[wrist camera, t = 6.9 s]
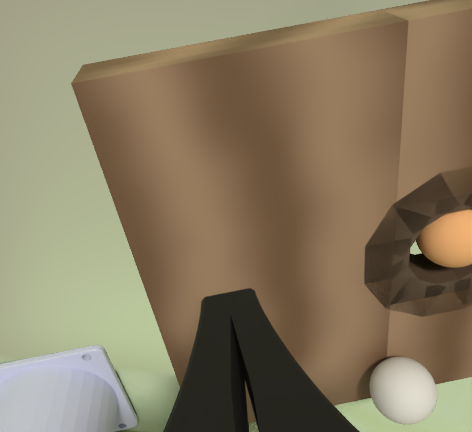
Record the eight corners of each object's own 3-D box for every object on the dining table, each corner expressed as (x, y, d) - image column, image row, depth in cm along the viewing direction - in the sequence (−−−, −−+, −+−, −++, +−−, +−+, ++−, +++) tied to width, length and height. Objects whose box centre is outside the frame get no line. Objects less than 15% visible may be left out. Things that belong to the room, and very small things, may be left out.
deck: (194, 398, 29) (196, 433, 27) (83, 64, 17) (71, 83, 15) (485, 338, 30) (509, 368, 28) (575, -27, 18) (630, -21, 16)
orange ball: (475, 237, 24) (410, 253, 25) (469, 179, 23) (400, 197, 23) (510, 271, 21) (434, 288, 21) (504, 205, 20) (424, 226, 20)
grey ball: (358, 389, 27) (386, 444, 24) (359, 352, 25) (389, 407, 22) (413, 375, 27) (446, 428, 24) (417, 336, 25) (454, 389, 22)
